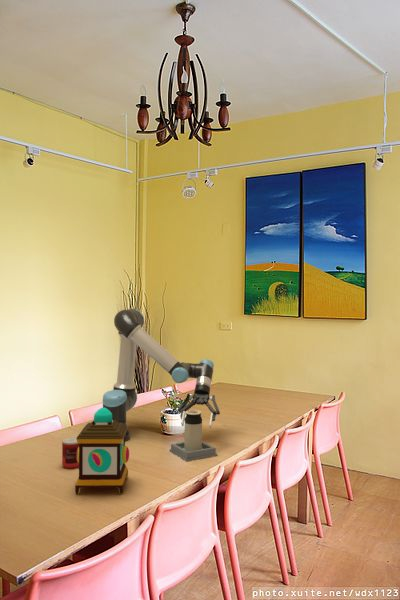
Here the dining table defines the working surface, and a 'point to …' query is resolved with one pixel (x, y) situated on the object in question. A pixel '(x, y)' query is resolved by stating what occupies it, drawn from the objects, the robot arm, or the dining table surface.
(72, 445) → the canned food
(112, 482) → the decorative lantern
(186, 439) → the travel mug
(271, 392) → the dining table surface
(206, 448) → the tray
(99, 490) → the dining table surface
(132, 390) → the robot arm
